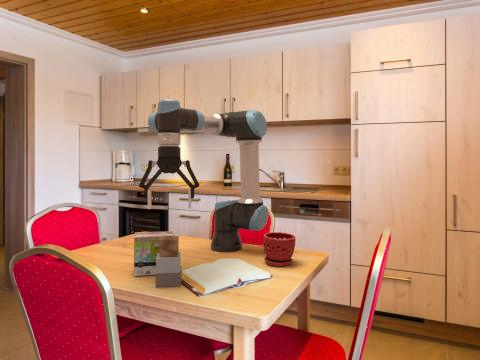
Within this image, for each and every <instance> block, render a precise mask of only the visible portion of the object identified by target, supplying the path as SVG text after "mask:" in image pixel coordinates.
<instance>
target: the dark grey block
mask: <svg viewBox="0 0 480 360" xmlns="http://www.w3.org/2000/svg"><path fill="white" fill-rule="evenodd" d="M182 270H183V269H181V273H158V274H156V275H155V288H157V289H160V288H162V287H163V288H180V287H181V284H182V279H181V277H182V276H183V275H182ZM180 283H181V284H180Z"/></svg>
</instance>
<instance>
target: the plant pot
mask: <svg viewBox="0 0 480 360" xmlns="http://www.w3.org/2000/svg"><path fill="white" fill-rule="evenodd" d="M295 247H296V236H295V235H294V234H292V233H288V232H277V231H275V232H273V231H271V232H266V233H264V234H263V251H264V254H265V256H264V258H263V260H264V262H265V263H266V264H267V265H270V266H273V267H286V266H290V265H291V264H292V263H293V258H292V257H293V255H294V253H295V251H294V250H295Z"/></svg>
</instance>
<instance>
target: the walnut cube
mask: <svg viewBox="0 0 480 360" xmlns="http://www.w3.org/2000/svg"><path fill="white" fill-rule="evenodd" d="M179 239H180V238H179V235H175V236H161V237H160V239H159V258H160V257H177V256H178V253H179V252H180V250H179V248H180V247H179V241H180V240H179Z"/></svg>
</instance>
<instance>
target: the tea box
mask: <svg viewBox="0 0 480 360" xmlns="http://www.w3.org/2000/svg"><path fill="white" fill-rule="evenodd" d="M133 233H134V234H133V235H134V236H133V274H134V277H140V276H141V277H142V276H143V277H144V276H156V257H157V253H159V239H160V237H161V236H176V235H175V233H174V231H171V230H170V231H169V230H168V231H146V232H145V231H142V232H140V231H139V232H137V231H136V232H133Z"/></svg>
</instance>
